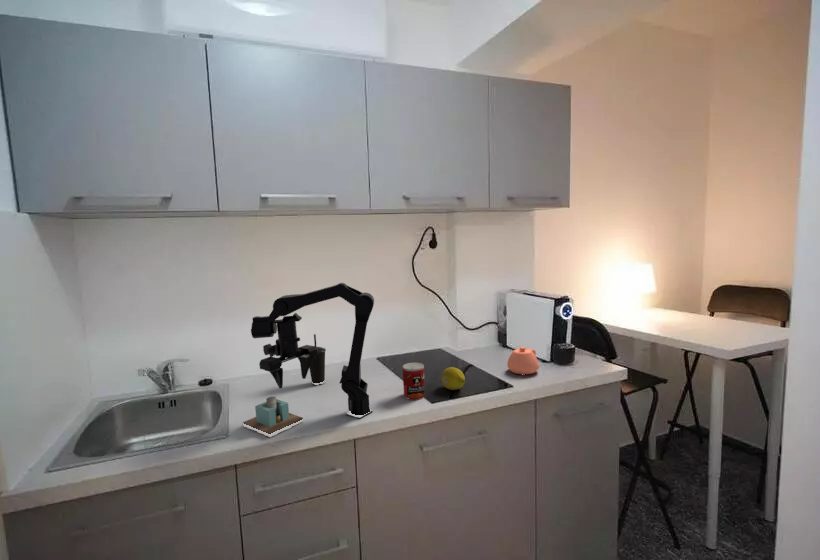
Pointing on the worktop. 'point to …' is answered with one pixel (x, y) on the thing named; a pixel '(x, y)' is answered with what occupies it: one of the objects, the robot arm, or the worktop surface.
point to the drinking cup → (318, 365)
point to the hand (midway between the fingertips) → (292, 383)
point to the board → (279, 423)
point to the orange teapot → (523, 361)
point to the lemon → (453, 378)
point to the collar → (271, 413)
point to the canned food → (413, 380)
